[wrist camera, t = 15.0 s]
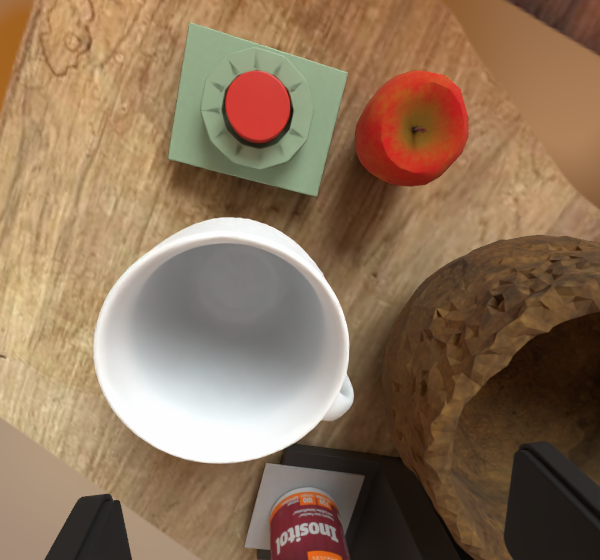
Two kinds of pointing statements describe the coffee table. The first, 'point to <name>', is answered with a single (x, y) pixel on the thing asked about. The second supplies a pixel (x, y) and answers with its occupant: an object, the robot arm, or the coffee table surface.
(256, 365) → the mug
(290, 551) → the pill bottle
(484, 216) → the coffee table surface
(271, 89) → the button
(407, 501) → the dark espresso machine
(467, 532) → the bowl
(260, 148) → the control block
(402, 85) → the apple
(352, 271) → the coffee table surface
